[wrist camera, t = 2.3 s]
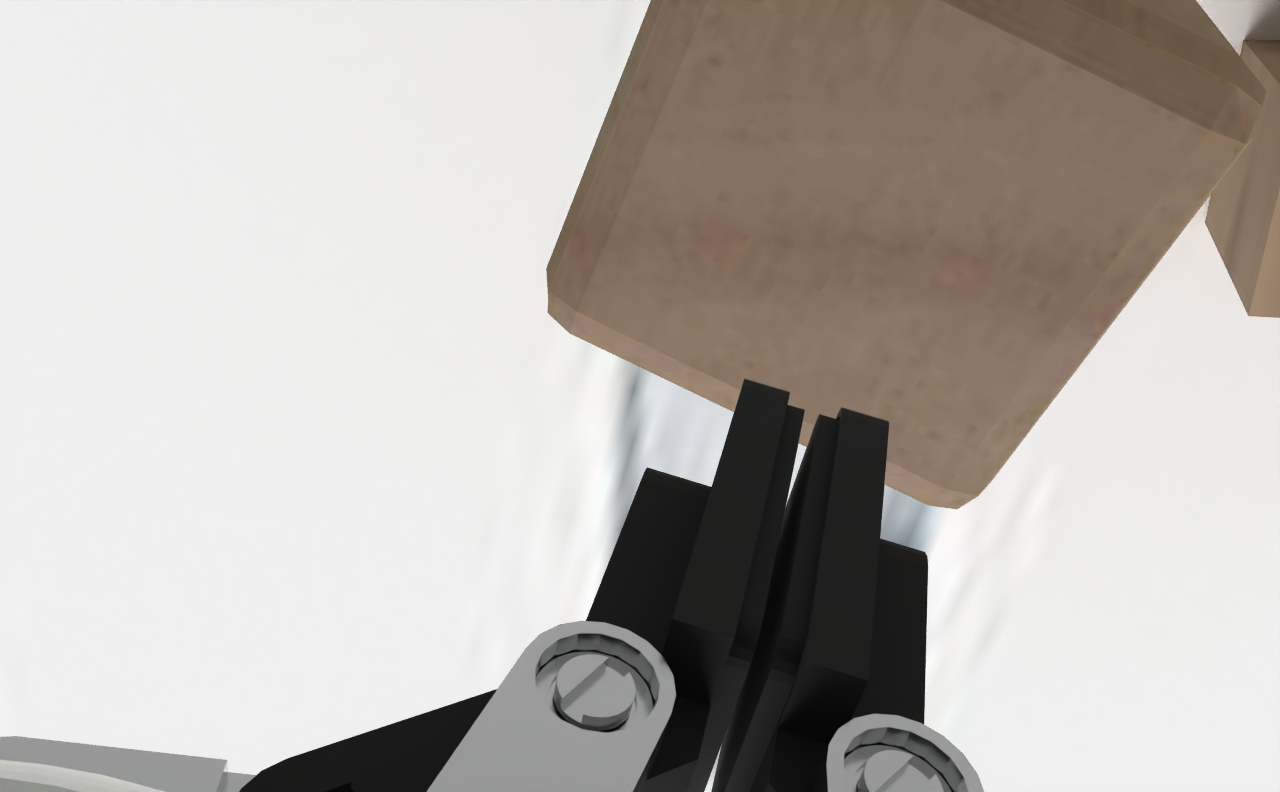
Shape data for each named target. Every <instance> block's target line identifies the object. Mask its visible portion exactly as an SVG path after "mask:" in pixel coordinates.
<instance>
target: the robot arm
mask: <svg viewBox="0 0 1280 792" xmlns="http://www.w3.org/2000/svg"><path fill="white" fill-rule="evenodd" d="M789 396H790V392H788V391H785V390H782V389H778V388H775V387H771V386H768V385H765V384H761V383H758V382H755V381H751V380H748V379H744V381H743V384H742V388H741V391H740V394H739V398H738V401H737V405H736V408H735V411H734V415H733V418H732V421H731V425H730V428H729V431H728V435H727V438H726V441H725V445H724V448H723V451H722V455H721V458H720V461H719V465H718V468H717V471H716V475H715V478H714V481H713V485H712V487H709V486H706V485H703V484H700V483H696V482H693V481H690V480H686V479H683V478H680V477H677V476H673V475H670V474H667V473H664V472H660V471H657V470H654V469H650V468H647V469H646V470H645V472H644V475H643V477H642V479H641V482H640V484H639V487H638V489H637V492H636V495H635V497H634V500H633V502H632V505H631V507H630V510H629V512H628V515H627V518H626V520H625V523H624V525H623V528H622V530H621V533H620V535H619V538H618V540H617V543H616V546H615V548H614V551H613V553H612V556H611V558H610V561H609V563H608V566H607V569H606V571H605V574H604V576H603V579H602V581H601V584H600V586H599V589H598V591H597V594H596V597H595V599H594V602H593V604H592V607H591V609H590V612H589V614H588V617H587V620H586V621H578V622H572V623H566V624H560V625H558V626H556V627H554V628H551V629H549V630H547V631H545V632H543V633H541V634H540V635H539V636H538V637H537V638H536V639H535V640H534V641H533V642H532V643H531V644H530V645H529V646H528V647H527V648H526V649H525V650H524V652H523V653H522V655H521V656H520V658H519V659H518V660H517V662H516V663H515V665H514V666H513V668H512V669H511V671H510V672H509V673H508V675H507V676H506V678H505V679H504V681H503V682H502V684H501V685H500V686H499V688H498V689H496V690H493V691H490V692H487V693H484V694H481V695H478V696H475V697H472V698H469V699H466V700H463V701H460V702H457V703H454V704H451V705H448V706H445V707H442V708H439V709H436V710H433V711H430V712H427V713H424V714H421V715H418V716H415V717H412V718H408V719H405V720H402V721H399V722H396V723H393V724H390V725H387V726H384V727H381V728H378V729H375V730H372V731H369V732H366V733H363V734H360V735H357V736H354V737H351V738H348V739H345V740H342V741H339V742H336V743H333V744H330V745H327V746H324V747H321V748H318V749H315V750H312V751H309V752H306V753H303V754H300V755H297V756H294V757H291V758H288V759H285V760H283V761H281V762H279V763H277V764H275V765H273V766H271V767H269V768H267V769H264V770H262V771H261V772H260V773H259V774H257V775H249V774H240V773H231V772H227V760H222V759H214V758H205V757H196V756H187V755H178V754H169V753H160V752H151V751H142V750H134V749H125V748H116V747H107V746H98V745H89V744H80V743H71V742H62V741H54V740H45V739H36V738H27V737H18V736H11V737H0V792H704V791H705V788H706V785H707V782H708V780H709V777H710V774H711V771H712V769H713V766H714V763H715V761H716V758H717V755H718V752H719V750H720V747H721V750H720V755H719V759H718V764H717V769H716V773H715V778H714V783H713V787H712V792H984V790H983V787H982V785H981V782H980V779H979V777H978V774H977V773H976V771H975V770H974V768H973V767H972V765H971V764H970V763H969V761H968V760H967V758H966V757H965V756H964V754H963V753H962V752H961V751H960V750H959V749H957V748H956V747H955V746H954V745H953V744H952V743H951V742H950V741H949V740H947V739H946V738H945V737H944V736H943V735H941V734H939V733H937V732H936V731H934V730H932V729H931V728H929V727H927V726H925V725H924V707H925V667H926V626H927V586H928V559H927V555H926V553H925V552H923V551H919V550H916V549H913V548H910V547H906V546H903V545H900V544H896V543H893V542H890V541H887V540H883V539H880V532H881V520H882V508H883V496H884V483H885V471H886V459H887V447H888V435H889V422H888V421H886V420H883V419H880V418H876V417H873V416H870V415H866V414H863V413H859V412H856V411H853V410H849V409H846V408H843V407H841V409H840V410H839V412H838V414H837V417H836V419H835V418H831V417H828V416H825V415H821V414H819V416H818V418H817V420H816V423H815V426H814V428H813V431H812V434H811V437H810V440H809V443H808V445H807V448H806V451H805V454H804V457H803V460H802V462H801V465H800V468H799V471H798V474H797V477H796V480H795V482H794V485H793V488H792V491H791V494H790V497H789V499H788V502H787V497H788V492H789V487H790V482H791V477H792V472H793V467H794V462H795V457H796V453H797V448H798V443H799V438H800V433H801V428H802V423H803V418H804V413H805V410H804V409H801V408H798V407H794V406H791V405H788V400H789ZM786 502H787V505H786ZM785 507H786V508H785ZM721 744H722V746H721Z"/></svg>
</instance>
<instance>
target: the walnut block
mask: <svg viewBox="0 0 1280 792" xmlns="http://www.w3.org/2000/svg"><path fill="white" fill-rule="evenodd" d="M1240 57H1241V59H1242V60H1243V61H1244V62H1245V64H1246V65H1247V66H1248V68H1249V69H1250V70H1251V72H1252V73H1253V74H1254V76H1255V77H1256V78H1257V79H1258V81H1259V82H1260V83H1261V85H1262V86H1263V87H1264V89H1265V90H1266V91H1267V92H1266V96H1265V99H1264V103H1263V106H1262V110H1261V113H1260V117H1259V120H1258V124H1257V128H1256V131H1255V135H1254V138H1253V139H1252V141H1251V142H1250V143H1249V145H1248V146H1247V147H1246V149H1245V150H1244V151H1243V152H1242V154H1241V155H1240V156H1239V158H1238V159H1237V160H1236V162H1235V163H1234V164H1233V166H1232V167H1231V168H1230V169H1229V171H1228V172H1227V173H1226V175H1225V176H1224V177H1223V179H1222V180H1221V181H1220V183H1219V184H1218V185H1217V186H1216V188H1215V189H1214V190H1213V192H1212V193H1211V197H1210V202H1209V207H1208V212H1207V216H1206V221H1205V223H1206V226H1207V228H1208V230H1209V232H1210V234H1211V236H1212V238H1213V241H1214V243H1215V245H1216V247H1217V249H1218V251H1219V253H1220V256H1221V258H1222V260H1223V262H1224V264H1225V266H1226V269H1227V271H1228V273H1229V275H1230V277H1231V279H1232V281H1233V284H1234V286H1235V288H1236V290H1237V292H1238V294H1239V297H1240V299H1241V301H1242V303H1243V305H1244V307H1245V309H1246V312H1247V314H1248V316H1259V317H1279V318H1280V40H1269V41H1243V45H1242V50H1241V54H1240Z"/></svg>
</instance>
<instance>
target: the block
mask: <svg viewBox="0 0 1280 792" xmlns="http://www.w3.org/2000/svg"><path fill="white" fill-rule="evenodd" d="M1266 92H1267V91H1266V90H1265V89H1264V87H1263V86H1262V85H1261V83H1260V82H1259V81H1258V79H1257V78H1256V77H1255V76H1254V74H1253V73H1252V72H1251V70H1250V69H1249V68H1248V66H1247V65H1246V64H1245V62H1244V61H1243V60H1242V59H1241V57H1240V56H1239V55H1238V53H1237V52H1236V51H1235V50H1234V48H1233V47H1232V46H1231V44H1230V43H1229V42H1228V41H1227V39H1226V38H1225V37H1224V36H1223V34H1222V33H1221V32H1220V31H1219V29H1218V28H1217V27H1216V25H1215V24H1214V23H1213V22H1212V20H1211V19H1210V18H1209V17H1208V15H1207V14H1206V13H1205V11H1204V10H1203V9H1202V8H1201V6H1200V5H1199V4H1198V3H1197V1H1196V0H651V2H650V4H649V7H648V9H647V12H646V15H645V17H644V20H643V22H642V25H641V27H640V30H639V33H638V35H637V38H636V40H635V43H634V45H633V48H632V50H631V53H630V56H629V58H628V61H627V63H626V66H625V68H624V71H623V74H622V76H621V79H620V81H619V84H618V86H617V89H616V91H615V94H614V97H613V99H612V102H611V104H610V107H609V109H608V112H607V115H606V117H605V120H604V122H603V125H602V127H601V130H600V132H599V135H598V138H597V140H596V143H595V145H594V148H593V150H592V153H591V156H590V158H589V161H588V163H587V166H586V168H585V171H584V173H583V176H582V179H581V181H580V184H579V186H578V189H577V191H576V194H575V197H574V199H573V202H572V204H571V207H570V209H569V212H568V214H567V217H566V220H565V222H564V225H563V227H562V230H561V232H560V235H559V238H558V240H557V243H556V245H555V248H554V250H553V253H552V256H551V258H550V261H549V263H548V266H547V268H546V270H547V287H548V314H549V315H551V316H552V317H553V318H554V319H555V320H556V321H557V322H558V323H559V324H560V325H561V326H562V327H563V328H564V329H566V330H567V331H568V332H569V333H570V334H572V335H574V336H576V337H579V338H581V339H583V340H585V341H587V342H589V343H591V344H593V345H595V346H597V347H599V348H601V349H604V350H606V351H608V352H610V353H612V354H614V355H616V356H618V357H620V358H622V359H624V360H626V361H629V362H631V363H633V364H635V365H637V366H639V367H641V368H643V369H645V370H647V371H649V372H651V373H654V374H656V375H658V376H660V377H662V378H664V379H666V380H668V381H670V382H672V383H674V384H676V385H679V386H681V387H683V388H685V389H687V390H689V391H691V392H693V393H695V394H697V395H699V396H701V397H704V398H706V399H708V400H710V401H712V402H714V403H716V404H718V405H720V406H722V407H724V408H727V409H729V410H731V411H733V412H734V411H735V408H736V405H737V401H738V398H739V394H740V391H741V388H742V384H743V381H744V379H748V380H751V381H755V382H758V383H761V384H765V385H768V386H771V387H775V388H778V389H782V390H785V391H788V392H790V396H789V400H788V405H791V406H794V407H798V408H801V409H804V410H805V413H804V418H803V423H802V428H801V433H800V438H799V444H802V445H804V446H806V447H807V445H808V443H809V440H810V437H811V434H812V431H813V428H814V426H815V423H816V420H817V418H818V416H819V414H821V415H825V416H828V417H831V418H835V419H836V417H837V414H838V412H839V410H840V409H841V407H843V408H846V409H849V410H853V411H856V412H859V413H863V414H866V415H870V416H873V417H876V418H880V419H883V420H886V421H888V422H889V435H888V447H887V459H886V471H885V483H884V484H885V485H887V486H889V487H891V488H893V489H895V490H897V491H899V492H902V493H904V494H906V495H908V496H910V497H912V498H914V499H916V500H918V501H920V502H922V503H924V504H927V505H930V506H937V507H945V508H952V509H958V508H960V507H961V506H963V505H965V504H966V503H968V502H969V501H971V500H972V499H974V498H976V497H977V496H979V494H980V493H981V492H982V491H983V490H984V489H985V488H986V487H987V485H988V484H989V483H990V482H991V481H992V480H993V478H994V477H995V476H996V474H997V473H998V472H999V470H1000V469H1001V468H1002V466H1003V465H1004V464H1005V463H1006V461H1007V460H1008V459H1009V457H1010V456H1011V455H1012V453H1013V452H1014V451H1015V449H1016V448H1017V447H1018V446H1019V444H1020V443H1021V442H1022V440H1023V439H1024V438H1025V436H1026V435H1027V434H1028V432H1029V431H1030V430H1031V429H1032V427H1033V426H1034V425H1035V423H1036V422H1037V421H1038V419H1039V418H1040V417H1041V415H1042V414H1043V413H1044V412H1045V410H1046V409H1047V408H1048V406H1049V405H1050V404H1051V402H1052V401H1053V400H1054V398H1055V397H1056V396H1057V395H1058V393H1059V392H1060V391H1061V389H1062V388H1063V387H1064V385H1065V384H1066V383H1067V381H1068V380H1069V379H1070V377H1071V376H1072V375H1073V374H1074V372H1075V371H1076V370H1077V368H1078V367H1079V366H1080V364H1081V363H1082V362H1083V360H1084V359H1085V358H1086V357H1087V355H1088V354H1089V353H1090V351H1091V350H1092V349H1093V347H1094V346H1095V345H1096V343H1097V342H1098V341H1099V340H1100V338H1101V337H1102V336H1103V334H1104V333H1105V332H1106V330H1107V329H1108V328H1109V326H1110V325H1111V324H1112V323H1113V321H1114V320H1115V319H1116V317H1117V316H1118V315H1119V313H1120V312H1121V311H1122V309H1123V308H1124V307H1125V306H1126V304H1127V303H1128V302H1129V300H1130V299H1131V298H1132V296H1133V295H1134V294H1135V292H1136V291H1137V290H1138V289H1139V287H1140V286H1141V285H1142V283H1143V282H1144V281H1145V279H1146V278H1147V277H1148V275H1149V274H1150V273H1151V272H1152V270H1153V269H1154V268H1155V266H1156V265H1157V264H1158V262H1159V261H1160V260H1161V258H1162V257H1163V256H1164V255H1165V253H1166V252H1167V251H1168V249H1169V248H1170V247H1171V245H1172V244H1173V243H1174V241H1175V240H1176V239H1177V238H1178V236H1179V235H1180V234H1181V232H1182V231H1183V230H1184V228H1185V227H1186V226H1187V224H1188V223H1189V222H1190V221H1191V219H1192V218H1193V217H1194V215H1195V214H1196V213H1197V211H1198V210H1199V209H1200V207H1201V206H1202V205H1203V204H1204V202H1205V201H1206V200H1207V198H1208V197H1209V196H1210V194H1211V193H1212V192H1213V190H1214V189H1215V188H1216V186H1217V185H1218V184H1219V183H1220V181H1221V180H1222V179H1223V177H1224V176H1225V175H1226V173H1227V172H1228V171H1229V169H1230V168H1231V167H1232V166H1233V164H1234V163H1235V162H1236V160H1237V159H1238V158H1239V156H1240V155H1241V154H1242V152H1243V151H1244V150H1245V149H1246V147H1247V146H1248V145H1249V143H1250V142H1251V141H1252V139H1253V138H1254V135H1255V131H1256V128H1257V124H1258V120H1259V117H1260V113H1261V110H1262V106H1263V103H1264V99H1265V96H1266Z"/></svg>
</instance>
